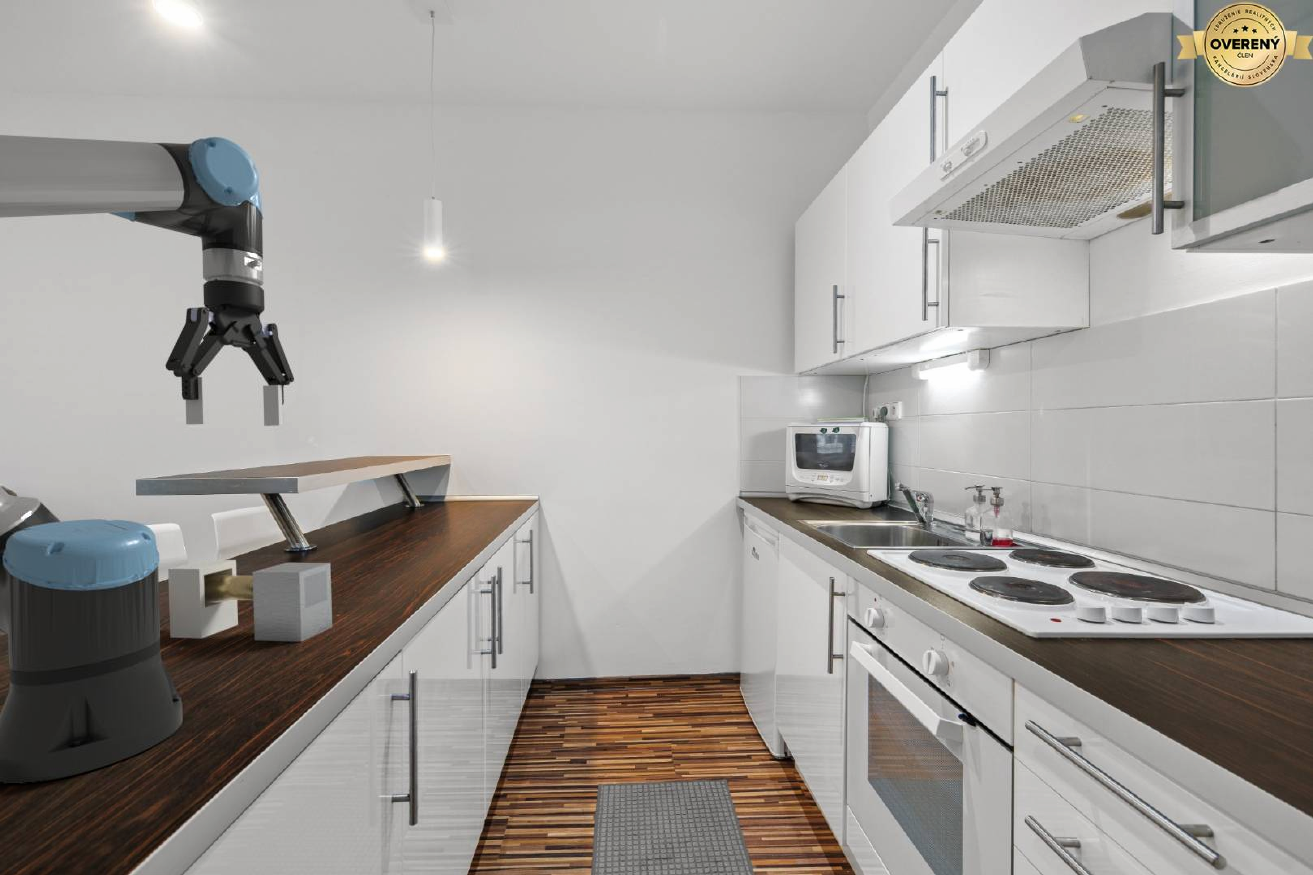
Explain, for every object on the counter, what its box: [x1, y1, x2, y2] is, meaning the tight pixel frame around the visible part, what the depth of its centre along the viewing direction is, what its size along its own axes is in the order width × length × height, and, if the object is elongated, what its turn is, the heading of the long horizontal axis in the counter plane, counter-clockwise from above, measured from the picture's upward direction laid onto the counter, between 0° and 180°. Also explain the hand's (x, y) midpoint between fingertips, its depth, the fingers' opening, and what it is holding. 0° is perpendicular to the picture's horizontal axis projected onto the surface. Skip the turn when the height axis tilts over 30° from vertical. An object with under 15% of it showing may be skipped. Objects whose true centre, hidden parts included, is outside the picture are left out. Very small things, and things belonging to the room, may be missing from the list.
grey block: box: [252, 562, 333, 643], centre depth 99 cm, size 8×7×11 cm
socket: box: [167, 559, 239, 639], centre depth 102 cm, size 6×7×11 cm
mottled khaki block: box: [204, 574, 254, 601], centre depth 101 cm, size 14×4×4 cm, turn 80°
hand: (238, 425), depth 90 cm, fingers open, 13 cm apart
